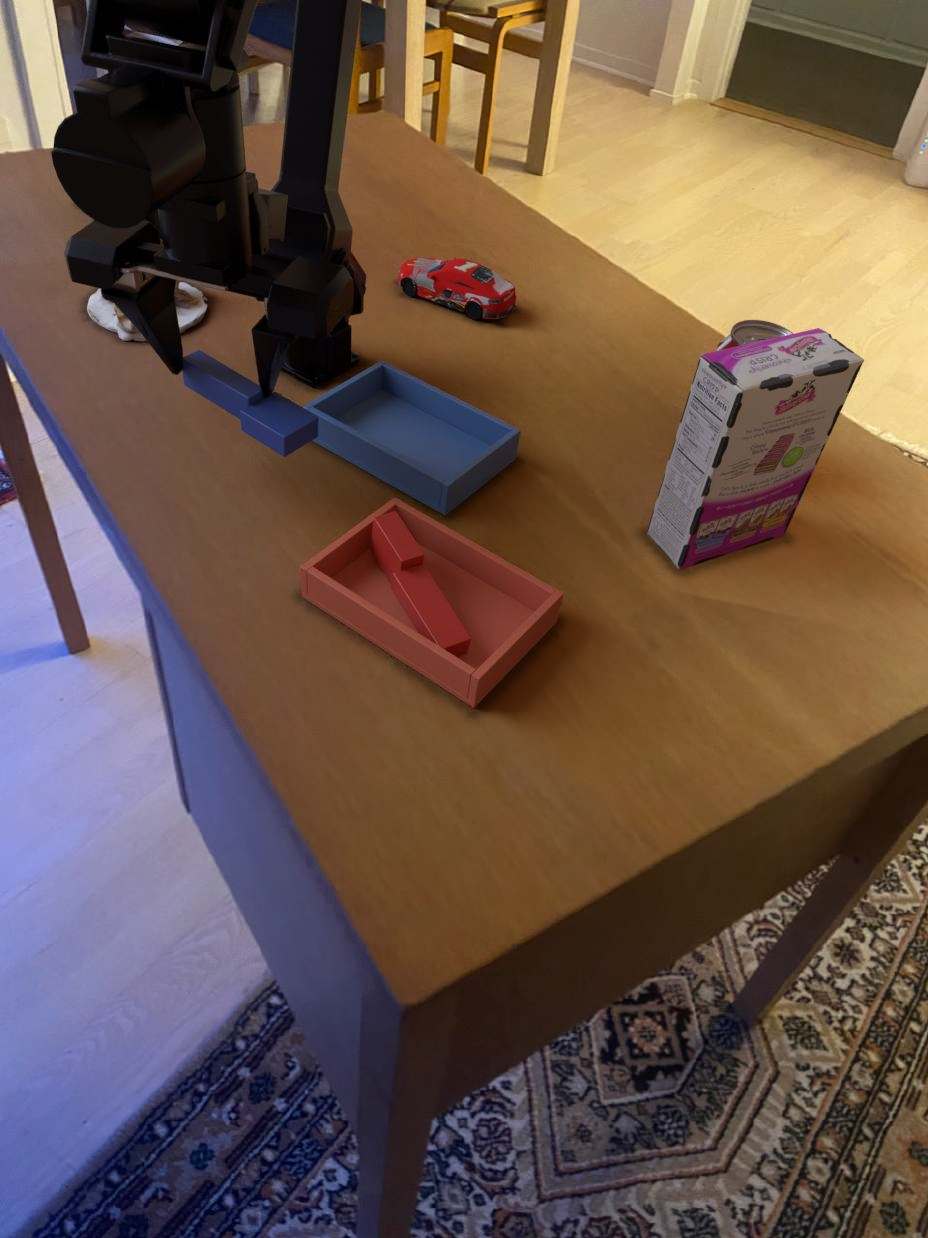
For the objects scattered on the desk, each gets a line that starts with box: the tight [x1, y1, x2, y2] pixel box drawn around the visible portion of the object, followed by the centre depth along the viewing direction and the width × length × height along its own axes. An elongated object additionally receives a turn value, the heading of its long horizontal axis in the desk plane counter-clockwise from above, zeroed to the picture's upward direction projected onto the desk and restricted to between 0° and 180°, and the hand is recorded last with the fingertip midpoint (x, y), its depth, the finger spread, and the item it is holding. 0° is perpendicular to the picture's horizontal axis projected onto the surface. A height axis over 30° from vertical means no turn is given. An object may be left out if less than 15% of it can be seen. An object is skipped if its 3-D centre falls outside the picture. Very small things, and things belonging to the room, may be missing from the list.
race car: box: [397, 257, 517, 321], centre depth 94 cm, size 13×5×4 cm, turn 60°
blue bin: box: [302, 360, 522, 516], centre depth 76 cm, size 15×10×3 cm
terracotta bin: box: [300, 497, 565, 709], centre depth 63 cm, size 15×10×3 cm
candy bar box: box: [646, 327, 865, 571], centre depth 67 cm, size 11×5×16 cm, turn 117°
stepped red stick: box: [370, 511, 471, 657], centre depth 62 cm, size 11×4×2 cm
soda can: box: [715, 319, 794, 351], centre depth 76 cm, size 7×7×12 cm
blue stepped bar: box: [181, 349, 319, 458], centre depth 67 cm, size 11×4×2 cm, turn 54°
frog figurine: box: [86, 280, 208, 342], centre depth 87 cm, size 12×12×4 cm
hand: (223, 382), depth 67 cm, fingers closed on blue stepped bar, 7 cm apart
